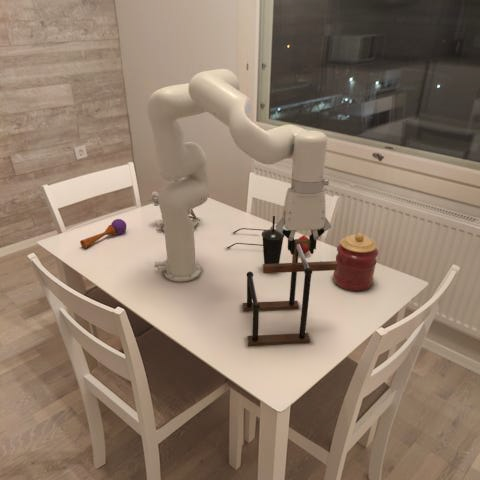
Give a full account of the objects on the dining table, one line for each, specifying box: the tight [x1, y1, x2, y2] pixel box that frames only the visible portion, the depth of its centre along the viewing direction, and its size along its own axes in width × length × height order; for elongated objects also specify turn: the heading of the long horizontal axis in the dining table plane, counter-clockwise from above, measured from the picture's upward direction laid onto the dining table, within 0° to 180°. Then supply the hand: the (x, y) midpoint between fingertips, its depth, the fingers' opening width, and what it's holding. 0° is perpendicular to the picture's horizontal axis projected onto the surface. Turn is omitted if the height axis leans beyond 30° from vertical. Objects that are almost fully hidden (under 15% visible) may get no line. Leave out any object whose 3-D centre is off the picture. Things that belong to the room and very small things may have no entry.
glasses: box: [226, 226, 272, 249], centre depth 172 cm, size 14×16×5 cm
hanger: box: [262, 239, 338, 274], centre depth 118 cm, size 20×2×9 cm, turn 94°
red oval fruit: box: [297, 234, 310, 255], centre depth 163 cm, size 6×6×8 cm
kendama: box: [79, 218, 127, 249], centre depth 174 cm, size 6×6×20 cm
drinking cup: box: [261, 215, 286, 264], centre depth 150 cm, size 8×8×20 cm
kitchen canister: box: [332, 232, 379, 292], centre depth 144 cm, size 13×13×18 cm
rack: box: [241, 238, 313, 347], centre depth 123 cm, size 17×19×23 cm
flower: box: [147, 177, 200, 232], centre depth 180 cm, size 20×22×25 cm
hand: (301, 251), depth 117 cm, fingers closed on hanger, 4 cm apart
